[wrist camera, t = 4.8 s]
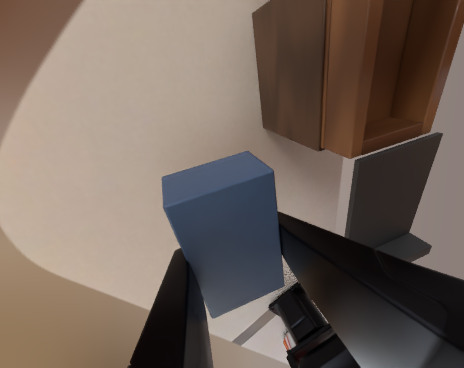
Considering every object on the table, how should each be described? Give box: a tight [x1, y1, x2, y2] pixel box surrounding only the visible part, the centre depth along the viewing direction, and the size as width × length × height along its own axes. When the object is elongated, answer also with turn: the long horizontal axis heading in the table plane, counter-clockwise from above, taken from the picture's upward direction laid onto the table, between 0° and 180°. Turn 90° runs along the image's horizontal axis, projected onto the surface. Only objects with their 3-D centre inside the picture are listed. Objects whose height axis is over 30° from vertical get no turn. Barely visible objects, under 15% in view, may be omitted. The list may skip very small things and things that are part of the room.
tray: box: [321, 0, 464, 159], centre depth 10 cm, size 8×6×2 cm
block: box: [162, 151, 285, 319], centre depth 8 cm, size 6×3×2 cm, turn 11°
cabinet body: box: [252, 0, 327, 151], centre depth 15 cm, size 9×6×8 cm
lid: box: [345, 133, 443, 262], centre depth 12 cm, size 8×6×2 cm
